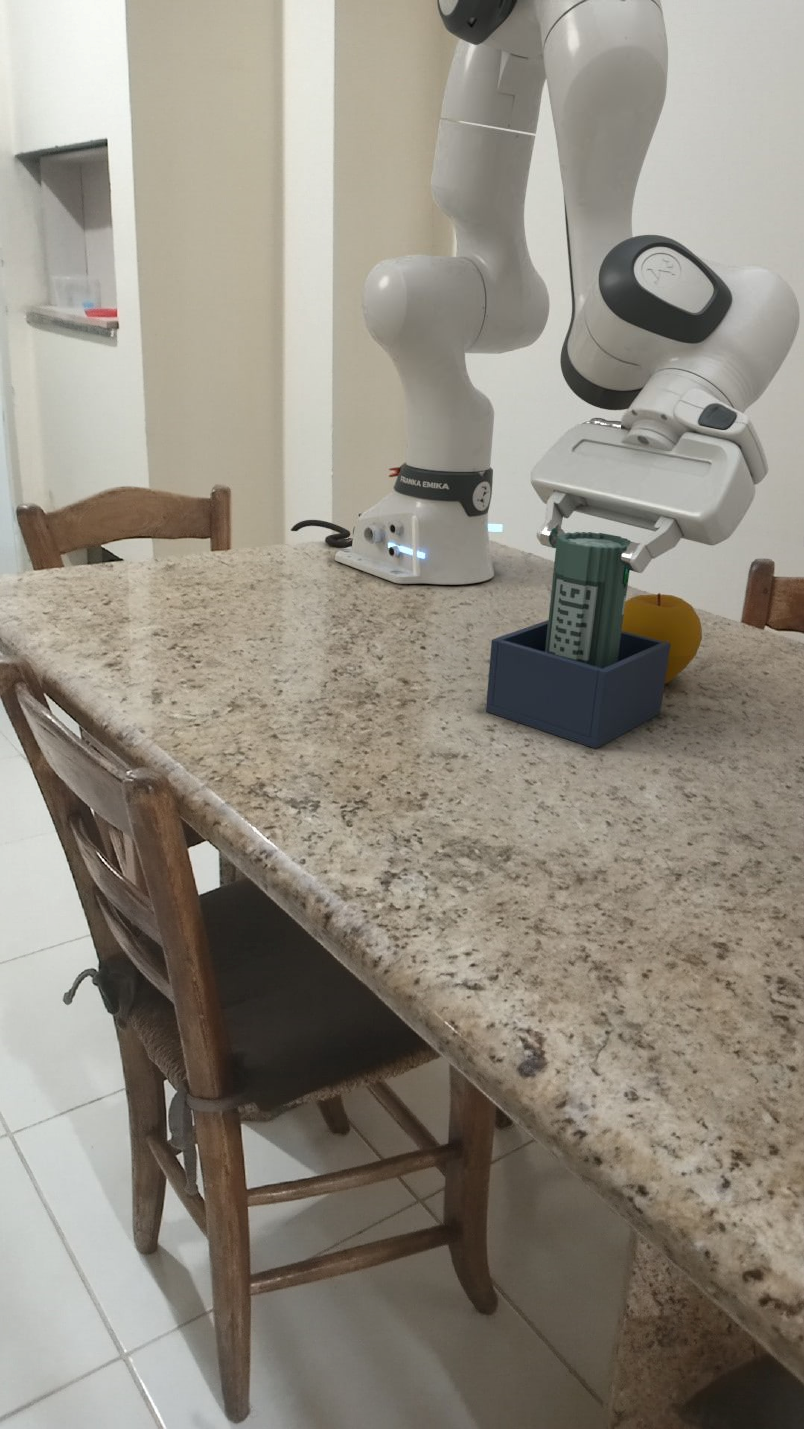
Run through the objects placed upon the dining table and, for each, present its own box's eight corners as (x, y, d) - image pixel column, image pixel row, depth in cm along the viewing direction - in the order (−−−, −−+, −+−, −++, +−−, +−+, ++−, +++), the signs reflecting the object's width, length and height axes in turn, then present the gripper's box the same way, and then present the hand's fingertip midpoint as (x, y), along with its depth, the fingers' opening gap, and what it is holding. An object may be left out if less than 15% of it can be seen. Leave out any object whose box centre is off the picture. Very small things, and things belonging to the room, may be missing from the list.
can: (620, 704, 93) (643, 540, 87) (590, 722, 88) (611, 551, 83) (561, 687, 96) (579, 529, 91) (529, 705, 92) (545, 539, 86)
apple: (636, 659, 107) (647, 576, 104) (712, 683, 102) (727, 596, 98) (585, 677, 102) (595, 589, 98) (663, 703, 96) (677, 611, 92)
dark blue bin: (485, 711, 92) (491, 639, 89) (554, 681, 100) (561, 615, 97) (596, 749, 85) (606, 672, 83) (660, 714, 93) (671, 643, 91)
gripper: (570, 392, 94) (484, 507, 92) (766, 420, 80) (670, 557, 78) (595, 439, 98) (514, 550, 96) (786, 474, 84) (696, 605, 82)
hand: (585, 554), depth 87 cm, fingers open, 8 cm apart
